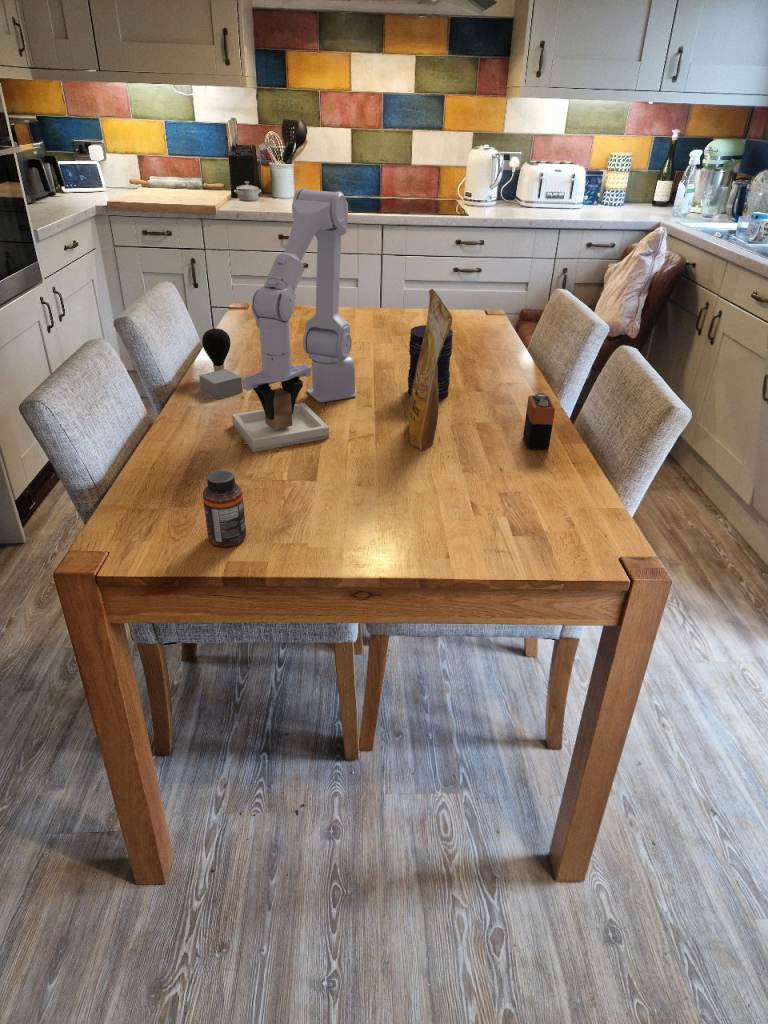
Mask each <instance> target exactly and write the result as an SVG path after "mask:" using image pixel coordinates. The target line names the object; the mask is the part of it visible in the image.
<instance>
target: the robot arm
mask: <svg viewBox="0 0 768 1024" xmlns="http://www.w3.org/2000/svg"><path fill="white" fill-rule="evenodd" d="M291 203H292V204H291V209H292V211H291V213H292V217H293V223H292V227H291V228H290V229H291V230H290V232H289V236H288V238H287V243H286V245H285V249H284V252H282V253H279V254H277V255H276V256H275V257H274V261H273V263H272V266H271V268H270V270H269V273H268V275H267V278H266V279H265V282H264V284H263V286H262V287H260V288H259V289H256V291H255V292H254V294H253V296H252V301H251V305H250V307H251V308H250V309H251V312H252V314H253V316H254V318H255V325H256V327H257V328H258V331H259V341H260V342H259V343H260V357H261V358H260V359H261V368H262V369H261V371H259V372H257V373H255V374H251V375H249V376H247V377H243V378H242V389H245V391H247V392H248V391H249V392H250V391H252V390H253V391H254V392H255V394H256V396H257V397H258V400H259V401H260V404H261V406H262V410H263V409H264V412H265V415H266V418H268V419H270V420H273V419H274V408H273V403H274V395H275V391H274V390H273V388H272V386H271V385H272V384H277V383H280V384H281V388H282V389H284V390H285V391H287V392H289V393H291V408H292V414H293V410H294V406H295V404H296V400H297V398H298V396H299V393H300V391H301V390H302V388H303V385H304V384H303V383H304V382H303V380H301V379H300V378H303V377H305V378H308V377H311V376H312V378H311V379H312V388H308V389H307V388H306V392H307V393H308V394H309V395H310V396H311V397H312V399H313V398H314V400H315V401H316V402H317V403H325V402H332V401H338V400H339V401H340V400H345V399H350V398H356V397H357V395H356V368H355V363H354V360H353V358H352V357H351V356H350V354H351V351H352V344H353V343H352V342H353V341H352V335H351V324H349V322H348V321H346V320H345V319H344V318H343V317H342V316H341V315H340V314H339V310H340V307H339V306H340V280H341V279H340V278H341V277H340V276H341V257H342V255H341V253H342V252H341V251H342V249H341V248H342V236H344V235H346V234H347V231H348V224H349V223H348V220H349V203H348V201H347V198H346V196H345V195H344V193H343V192H342V191H325V190H316V189H315V190H314V189H313V190H312V189H304V188H298V189H297V190H296V192H295V194H294V196H293V198H292V202H291ZM314 237H315V238H316V239H317V242H316V243H317V244H316V245H317V246H316V247H317V248H316V283H315V284H316V285H315V286H316V287H315V288H316V289H315V315H313V316H311V317H310V318H309V319H308V320H307V321H306V322H305V326H304V327H305V328H304V333H303V337H302V347H303V349H304V351H305V353H306V354H307V355H308V359H310V360H311V366H309V365H307V364H301V365H292V359H291V358H292V357H291V354H292V353H291V340H290V338H291V337H290V320H291V318H292V317H293V315H294V311H295V303H296V302H295V301H296V297H297V295H296V293H295V292H296V290H297V289H298V288H297V287H298V285H299V282H300V280H301V277H302V275H303V273H304V265H303V263H302V260H303V258H304V256H305V254H306V252H307V251H308V249H309V246H310V244H311V242H312V240H313V239H314Z"/></svg>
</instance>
